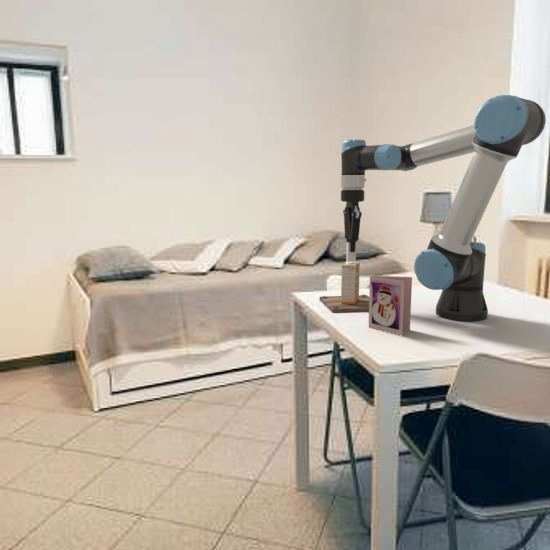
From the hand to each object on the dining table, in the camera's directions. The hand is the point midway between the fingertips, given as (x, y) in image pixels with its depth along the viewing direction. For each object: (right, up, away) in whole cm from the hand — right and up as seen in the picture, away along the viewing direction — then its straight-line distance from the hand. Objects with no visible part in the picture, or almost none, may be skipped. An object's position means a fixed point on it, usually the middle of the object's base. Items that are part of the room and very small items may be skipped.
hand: (351, 261), depth 175 cm
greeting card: (+7, -20, -27) cm, 34 cm away
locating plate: (0, -15, +3) cm, 15 cm away
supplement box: (0, -14, +3) cm, 14 cm away
